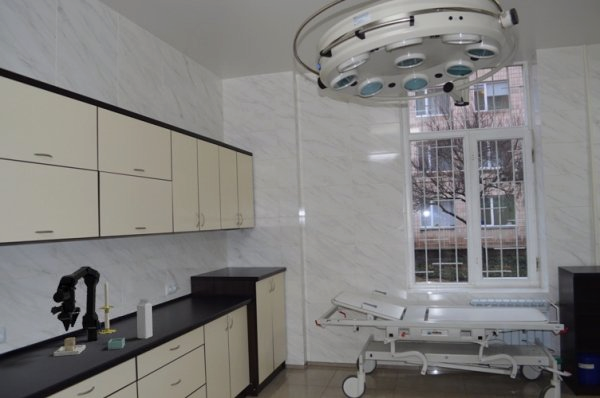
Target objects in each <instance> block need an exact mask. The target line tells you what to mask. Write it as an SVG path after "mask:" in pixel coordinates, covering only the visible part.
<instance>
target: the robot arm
mask: <svg viewBox="0 0 600 398" xmlns="http://www.w3.org/2000/svg"><path fill="white" fill-rule="evenodd" d="M100 278H101V274H100V272H99V271H98V270H97V269H94V268H93V267H92V266H89V265H87V266H86V265H84V266H81V267H79V268H78V269H76V271H73V272H72V273H70V274H66V275H63V276H62V277H61V278H60V279H59V283H58V284H57V288H56V292H55V293H54V294H53V295H52V300H53V302H55V303H57V304H60V303H61V304H60V305H59V306H56V305H54V306H52V307H51V309H50V313H51V314H52V316H54V315H56V314H57V318H56V319H57V320H58V321H60V322H61V323H62V325H63V328H64V330H65V332H68V331H69V328H74V327H75V324H76V322H77V319H78V318H79V315H80V313H81V307H79V306H76V303H77V300H76V291H77V287H76V285H77V284H79V280H81V279H83V283H84V284H85V286H86V303H85V305H86V307H85V313H84V314H83V315H82V318H81V319H82V320H81V326H82V330H83V331H86V339H85V341H84V342H94V341H95V342H96V341H99V339H100V336H99V332H98V330H101V328H102V323H101V321H100V319H99V315H98V313H97V311H96V295H97V294H96V293H97V285H98V284H99V282H100Z"/></svg>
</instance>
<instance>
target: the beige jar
mask: <svg viewBox="0 0 600 398" xmlns="http://www.w3.org/2000/svg"><path fill="white" fill-rule="evenodd" d="M64 346H65V352H66V351H73V350H75V346H76V337H67V338H65V339H64Z"/></svg>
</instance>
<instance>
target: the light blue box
mask: <svg viewBox="0 0 600 398" xmlns="http://www.w3.org/2000/svg"><path fill="white" fill-rule="evenodd" d="M124 346H126V337H120V338H111V339H110V340H108V341H107V350H109V351H111V350H119V349H120V350H121V349H123V348H124Z"/></svg>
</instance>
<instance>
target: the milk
mask: <svg viewBox="0 0 600 398" xmlns="http://www.w3.org/2000/svg"><path fill="white" fill-rule="evenodd" d="M152 306H153V305H152V303H151V302H149V299H145V298H144V299H143V298H140V299H139V302H138V303H137V304H136V326H137V327H136V329H137V339H144V340H145V339H149V338H151V337H153V307H152Z"/></svg>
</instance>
